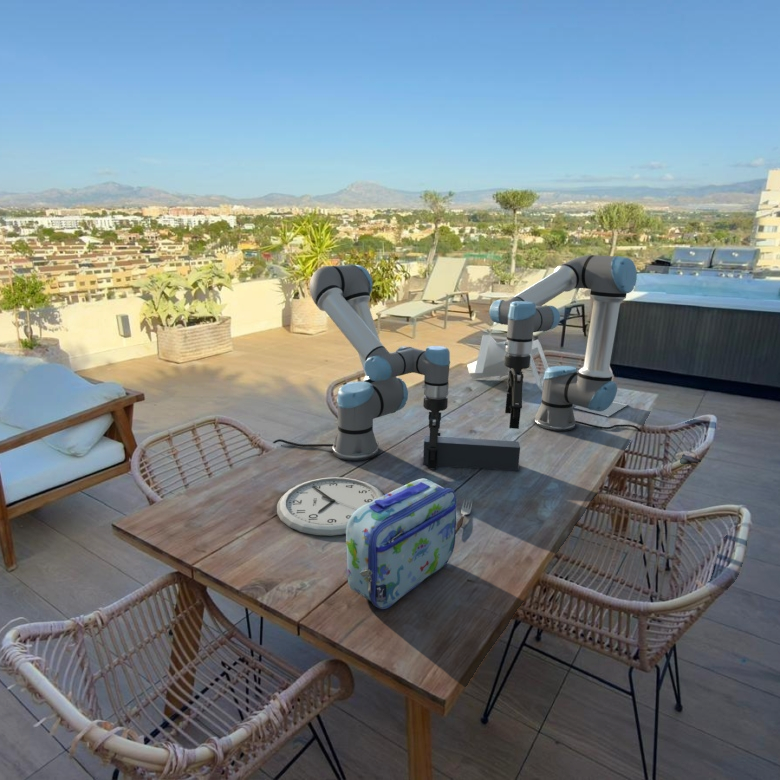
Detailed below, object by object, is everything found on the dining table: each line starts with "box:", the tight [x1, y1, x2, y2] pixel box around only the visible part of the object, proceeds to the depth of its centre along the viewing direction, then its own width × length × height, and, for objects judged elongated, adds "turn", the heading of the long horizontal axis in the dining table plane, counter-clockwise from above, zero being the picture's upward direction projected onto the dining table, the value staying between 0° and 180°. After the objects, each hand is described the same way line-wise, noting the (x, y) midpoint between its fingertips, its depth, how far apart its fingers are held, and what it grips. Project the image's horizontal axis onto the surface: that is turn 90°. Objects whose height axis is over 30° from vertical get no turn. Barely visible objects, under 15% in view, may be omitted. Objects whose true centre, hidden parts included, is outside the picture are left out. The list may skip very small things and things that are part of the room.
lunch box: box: [345, 477, 457, 610], centre depth 110 cm, size 26×11×21 cm, turn 134°
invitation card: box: [573, 400, 628, 418], centre depth 226 cm, size 21×1×15 cm
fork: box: [455, 498, 473, 536], centre depth 136 cm, size 3×16×2 cm, turn 160°
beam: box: [422, 435, 521, 472], centre depth 168 cm, size 30×5×8 cm, turn 83°
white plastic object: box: [467, 334, 550, 392], centre depth 256 cm, size 37×45×31 cm
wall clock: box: [276, 476, 385, 537], centre depth 143 cm, size 30×2×30 cm
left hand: (432, 461), depth 170 cm, fingers open, 9 cm apart
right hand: (511, 420), depth 163 cm, fingers open, 13 cm apart
